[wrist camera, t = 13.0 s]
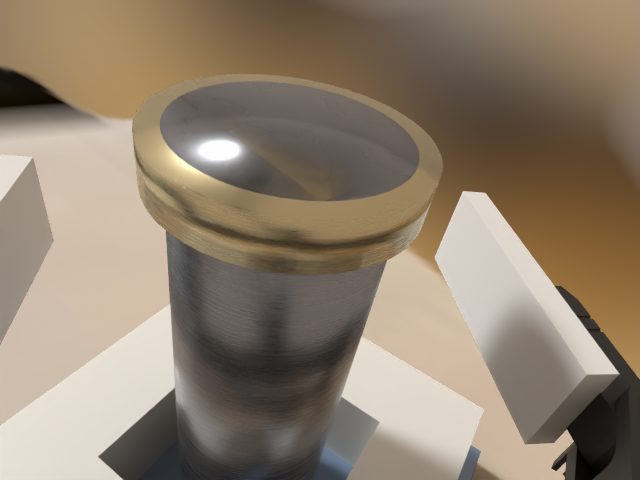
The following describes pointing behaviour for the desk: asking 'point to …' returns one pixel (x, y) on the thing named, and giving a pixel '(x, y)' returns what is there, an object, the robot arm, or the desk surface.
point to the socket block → (162, 434)
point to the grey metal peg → (273, 255)
